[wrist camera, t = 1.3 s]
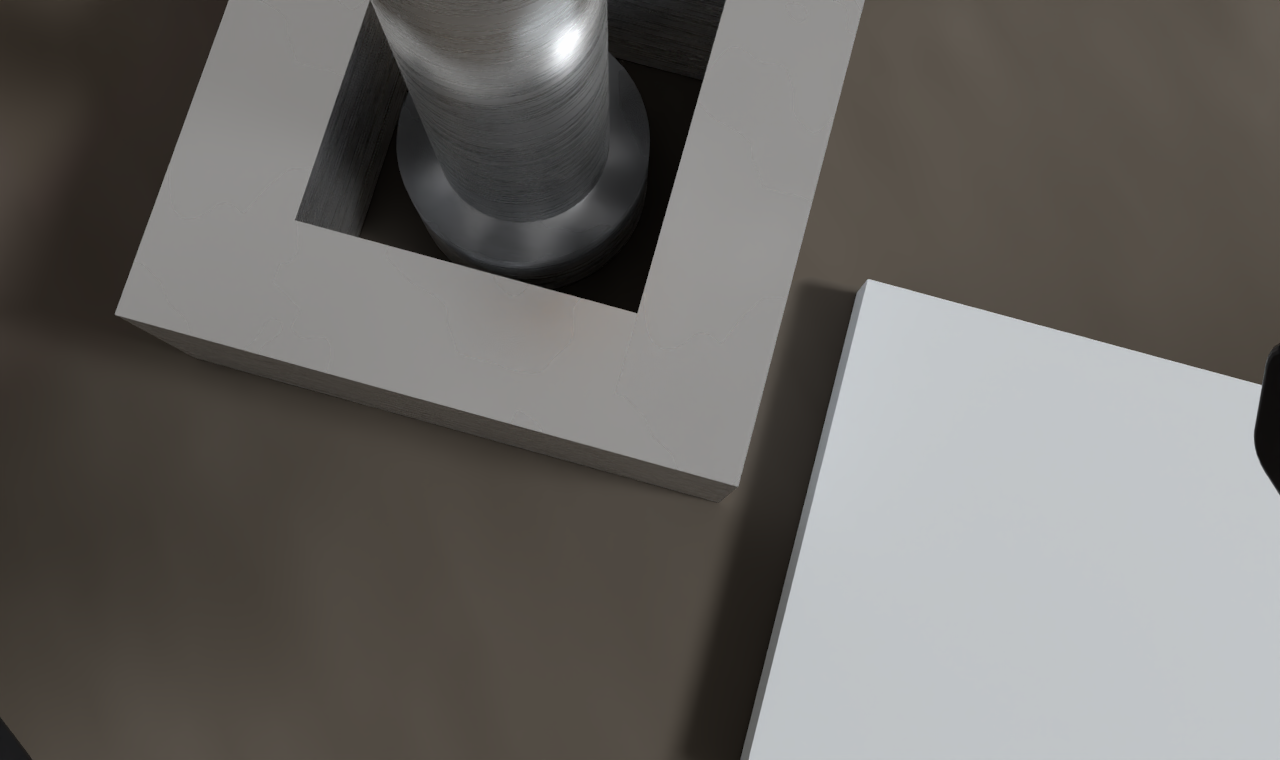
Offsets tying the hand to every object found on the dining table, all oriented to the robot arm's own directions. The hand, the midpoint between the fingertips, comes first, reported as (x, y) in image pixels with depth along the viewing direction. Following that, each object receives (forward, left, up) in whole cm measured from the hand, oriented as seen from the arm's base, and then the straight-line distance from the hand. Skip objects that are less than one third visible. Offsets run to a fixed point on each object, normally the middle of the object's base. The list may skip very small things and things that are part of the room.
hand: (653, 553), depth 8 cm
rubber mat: (+2, -7, -13) cm, 15 cm away
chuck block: (+7, +4, -13) cm, 15 cm away
